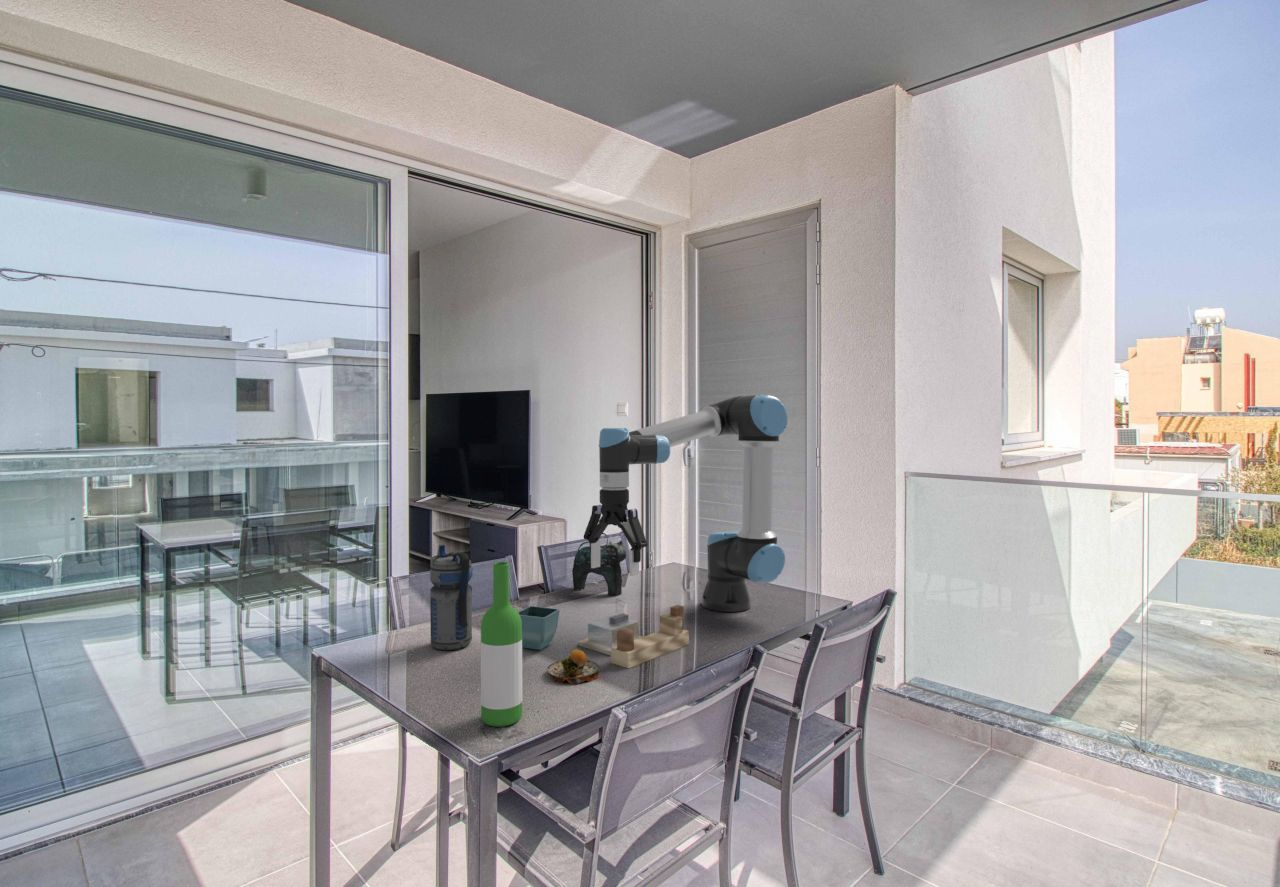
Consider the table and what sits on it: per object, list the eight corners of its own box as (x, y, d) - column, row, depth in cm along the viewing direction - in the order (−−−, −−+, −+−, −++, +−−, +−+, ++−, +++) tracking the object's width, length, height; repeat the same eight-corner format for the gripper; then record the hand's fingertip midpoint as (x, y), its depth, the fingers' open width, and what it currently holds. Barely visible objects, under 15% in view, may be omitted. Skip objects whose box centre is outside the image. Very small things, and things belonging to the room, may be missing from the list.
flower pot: (560, 643, 175) (560, 608, 174) (544, 654, 166) (544, 617, 166) (529, 639, 178) (529, 605, 177) (512, 650, 169) (512, 614, 169)
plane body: (672, 639, 178) (672, 603, 177) (689, 644, 174) (689, 607, 174) (611, 662, 160) (611, 622, 160) (628, 668, 157) (628, 627, 156)
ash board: (615, 632, 183) (615, 628, 183) (649, 642, 176) (649, 638, 176) (577, 645, 173) (577, 641, 173) (611, 655, 165) (611, 651, 165)
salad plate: (573, 662, 161) (573, 631, 161) (610, 674, 154) (610, 641, 154) (535, 677, 152) (535, 644, 152) (572, 690, 145) (572, 655, 144)
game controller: (627, 594, 225) (627, 534, 224) (616, 598, 219) (616, 536, 219) (579, 586, 235) (579, 529, 235) (568, 590, 230) (568, 531, 229)
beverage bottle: (448, 657, 164) (447, 554, 163) (421, 644, 173) (421, 547, 172) (484, 647, 171) (484, 548, 170) (457, 635, 180) (457, 542, 180)
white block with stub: (615, 631, 181) (615, 610, 181) (638, 638, 175) (638, 616, 175) (587, 640, 173) (587, 618, 173) (612, 648, 168) (612, 625, 168)
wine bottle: (497, 732, 124) (496, 569, 123) (472, 720, 129) (471, 563, 128) (530, 719, 130) (530, 563, 129) (505, 707, 135) (505, 557, 134)
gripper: (570, 486, 179) (570, 566, 179) (641, 492, 162) (641, 581, 163) (590, 484, 184) (590, 562, 185) (661, 490, 168) (661, 575, 168)
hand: (614, 571), depth 174 cm, fingers open, 13 cm apart
